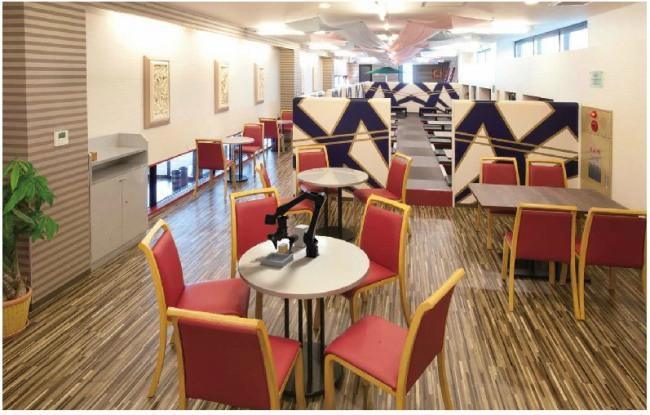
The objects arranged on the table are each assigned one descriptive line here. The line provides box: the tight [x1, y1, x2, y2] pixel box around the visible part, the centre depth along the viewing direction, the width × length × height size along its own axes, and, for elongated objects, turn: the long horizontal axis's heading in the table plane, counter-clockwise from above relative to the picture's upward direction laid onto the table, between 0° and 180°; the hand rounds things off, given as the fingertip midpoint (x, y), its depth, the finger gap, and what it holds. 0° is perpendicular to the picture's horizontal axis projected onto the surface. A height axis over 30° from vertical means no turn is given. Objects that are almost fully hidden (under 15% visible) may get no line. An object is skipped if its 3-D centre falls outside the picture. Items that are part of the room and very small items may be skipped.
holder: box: [275, 249, 293, 255], centre depth 314 cm, size 8×10×1 cm
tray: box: [260, 251, 294, 269], centre depth 300 cm, size 14×14×3 cm
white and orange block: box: [277, 242, 289, 254], centre depth 313 cm, size 4×6×6 cm, turn 158°
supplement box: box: [293, 223, 309, 248], centre depth 328 cm, size 7×7×13 cm
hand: (283, 250), depth 314 cm, fingers open, 9 cm apart
